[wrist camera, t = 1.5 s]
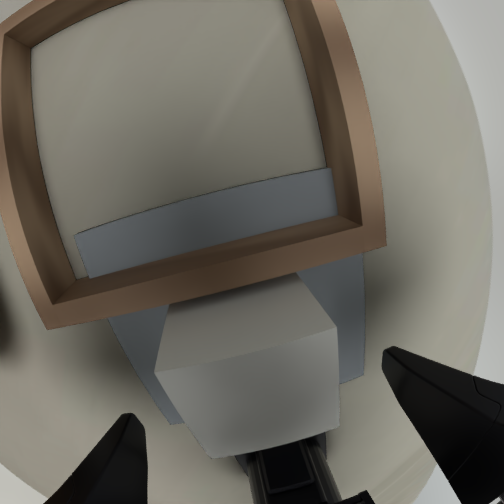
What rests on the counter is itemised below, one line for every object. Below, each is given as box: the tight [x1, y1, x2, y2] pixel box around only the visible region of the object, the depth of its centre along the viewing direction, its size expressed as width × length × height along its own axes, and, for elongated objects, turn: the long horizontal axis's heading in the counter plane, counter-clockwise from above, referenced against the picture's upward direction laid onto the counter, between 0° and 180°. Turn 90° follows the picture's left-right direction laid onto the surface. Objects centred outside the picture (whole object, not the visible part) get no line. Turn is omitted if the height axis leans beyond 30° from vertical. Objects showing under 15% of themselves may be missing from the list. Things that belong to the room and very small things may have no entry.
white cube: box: [154, 272, 340, 459], centre depth 10 cm, size 5×5×5 cm
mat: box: [74, 168, 365, 425], centre depth 13 cm, size 12×12×1 cm
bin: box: [0, 0, 387, 330], centre depth 8 cm, size 14×14×2 cm
